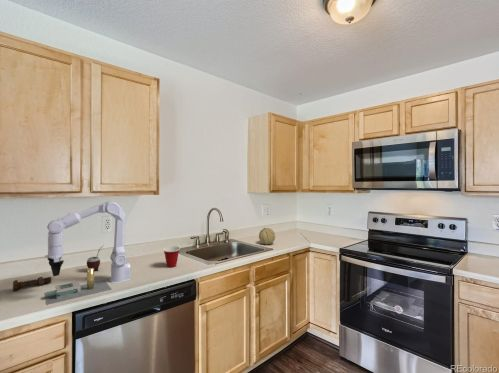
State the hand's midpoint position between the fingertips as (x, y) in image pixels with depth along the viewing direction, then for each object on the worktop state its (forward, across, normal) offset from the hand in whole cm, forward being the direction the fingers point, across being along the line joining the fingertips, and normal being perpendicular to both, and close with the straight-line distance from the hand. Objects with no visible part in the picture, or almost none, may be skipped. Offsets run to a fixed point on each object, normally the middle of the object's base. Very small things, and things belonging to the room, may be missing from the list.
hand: (55, 273), depth 125 cm
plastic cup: (+10, -5, +61) cm, 62 cm away
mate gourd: (+10, -27, +21) cm, 36 cm away
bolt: (+11, -18, -8) cm, 22 cm away
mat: (+10, +4, +9) cm, 14 cm away
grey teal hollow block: (+10, +4, +3) cm, 11 cm away
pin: (+10, +4, +14) cm, 17 cm away
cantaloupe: (+10, -10, +153) cm, 154 cm away
